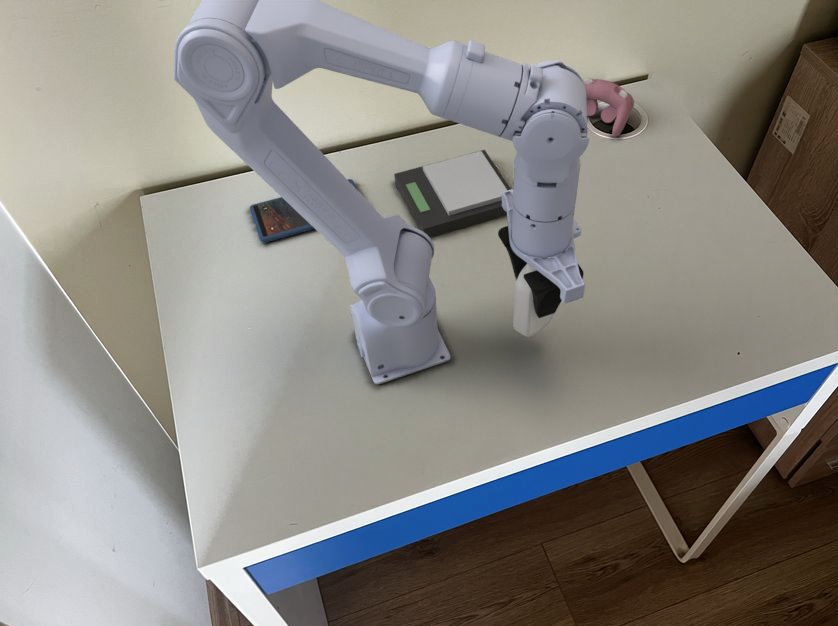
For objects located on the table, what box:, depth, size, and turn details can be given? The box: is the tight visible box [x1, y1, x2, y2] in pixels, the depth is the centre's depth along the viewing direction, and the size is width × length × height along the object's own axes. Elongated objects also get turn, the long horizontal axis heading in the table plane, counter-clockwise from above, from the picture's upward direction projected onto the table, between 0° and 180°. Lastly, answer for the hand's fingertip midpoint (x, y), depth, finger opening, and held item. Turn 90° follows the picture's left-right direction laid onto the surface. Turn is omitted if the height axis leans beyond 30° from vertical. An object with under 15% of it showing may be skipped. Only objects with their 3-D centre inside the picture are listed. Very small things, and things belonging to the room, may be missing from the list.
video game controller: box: [583, 78, 635, 138], centre depth 108 cm, size 10×5×7 cm, turn 58°
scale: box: [393, 149, 512, 239], centre depth 98 cm, size 14×12×3 cm
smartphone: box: [249, 178, 359, 244], centre depth 97 cm, size 8×1×15 cm
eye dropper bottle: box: [512, 263, 555, 338], centre depth 73 cm, size 4×6×12 cm
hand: (536, 297), depth 75 cm, fingers closed on eye dropper bottle, 4 cm apart
